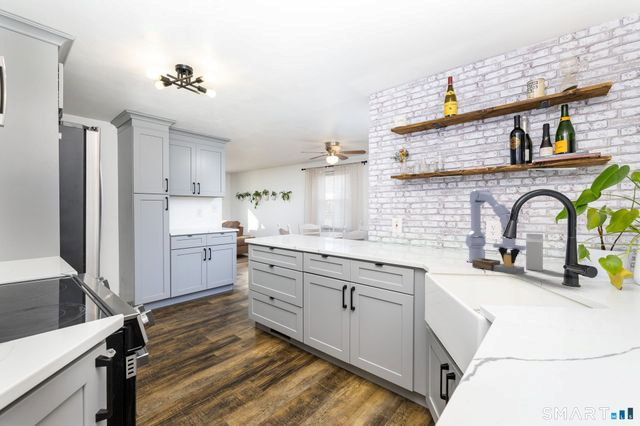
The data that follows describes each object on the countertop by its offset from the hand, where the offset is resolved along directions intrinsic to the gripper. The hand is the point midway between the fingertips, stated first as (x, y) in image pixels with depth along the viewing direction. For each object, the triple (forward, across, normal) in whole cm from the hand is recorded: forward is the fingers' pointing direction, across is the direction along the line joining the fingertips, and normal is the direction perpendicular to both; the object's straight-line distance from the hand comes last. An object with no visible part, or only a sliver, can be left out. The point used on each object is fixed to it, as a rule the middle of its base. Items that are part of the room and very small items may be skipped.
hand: (508, 262), depth 151 cm
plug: (+3, 0, 0) cm, 3 cm away
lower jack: (+4, 0, 0) cm, 4 cm away
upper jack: (+4, -12, 0) cm, 12 cm away
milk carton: (+5, +6, +16) cm, 18 cm away
